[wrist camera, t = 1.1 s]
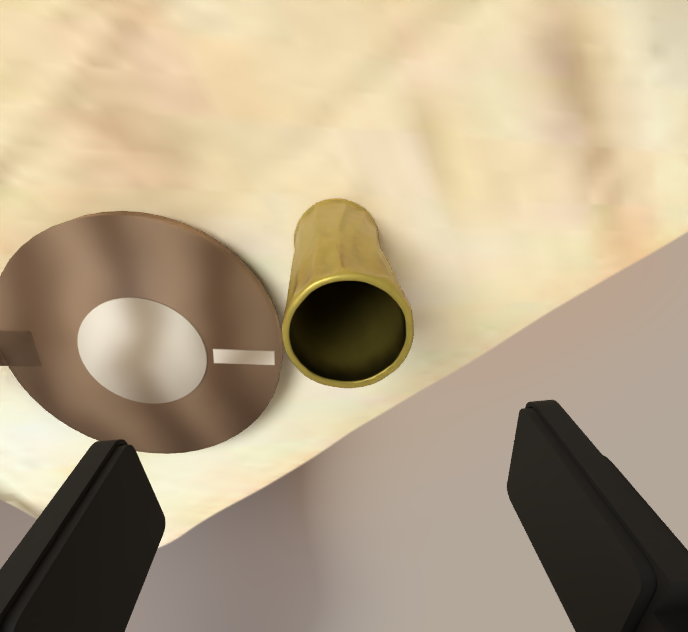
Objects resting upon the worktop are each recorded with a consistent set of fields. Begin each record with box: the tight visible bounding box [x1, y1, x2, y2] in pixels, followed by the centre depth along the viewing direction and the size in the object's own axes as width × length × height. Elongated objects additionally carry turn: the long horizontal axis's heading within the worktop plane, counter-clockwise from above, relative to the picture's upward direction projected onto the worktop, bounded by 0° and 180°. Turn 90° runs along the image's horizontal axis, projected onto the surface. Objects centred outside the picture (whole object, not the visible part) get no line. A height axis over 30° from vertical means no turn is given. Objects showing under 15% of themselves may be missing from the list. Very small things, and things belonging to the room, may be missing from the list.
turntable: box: [0, 211, 283, 454], centre depth 26 cm, size 23×20×8 cm
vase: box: [282, 199, 414, 388], centre depth 21 cm, size 6×6×14 cm
